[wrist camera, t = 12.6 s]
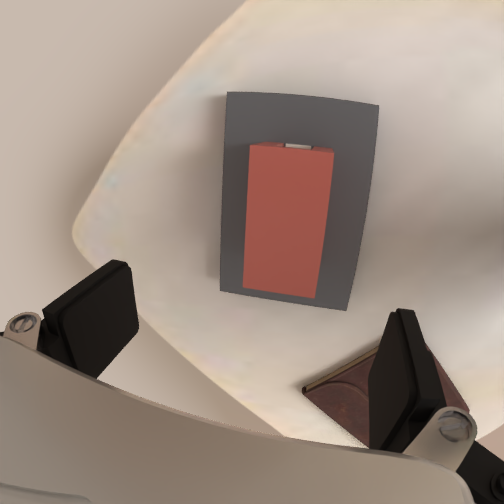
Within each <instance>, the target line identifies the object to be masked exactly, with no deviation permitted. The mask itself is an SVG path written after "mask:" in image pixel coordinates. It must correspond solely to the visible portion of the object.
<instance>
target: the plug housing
mask: <svg viewBox="0 0 504 504" xmlns="http://www.w3.org/2000/svg"><path fill="white" fill-rule="evenodd" d="M333 160H334V152H333V149H332V148H325V147H316V146H314V148H313V149H312V150H311V149H302V148H292V147H284V143H277V142H262V143H257V144H253V145H250V155H249V173H248V192H247V211H246V231H245V251H244V271H243V287H244V288H250V289H256V290H262V291H268V292H275V293H281V294H288V295H294V296H301V297H308V298H315V293H316V287H317V281H318V275H319V268H320V262H321V255H322V249H323V242H324V235H325V228H326V220H327V212H328V205H329V196H330V188H331V179H332V170H333Z"/></svg>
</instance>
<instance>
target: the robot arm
mask: <svg viewBox="0 0 504 504" xmlns="http://www.w3.org/2000/svg"><path fill="white" fill-rule="evenodd" d="M42 311H43V315H44V319H43V320H42V321H41V318H40V316H39V315H38V314H36V313H33V312H25V313H20V314H18V315H16V316H14V317H13V318H11V319H10V320H9V321H8V323H7V325H6V328H5V331H4V332H0V504H504V461H502V460H501V459H500V458H498V457H497V456H496V455H494V454H493V453H491V452H490V451H489V450H487V449H486V448H485V447H483V446H482V445H480V444H479V443H478V442H476V441H475V438H476V435H477V425H476V423H475V420H474V419H473V418H472V416H471V415H470V414H469V413H467V412H466V411H465V410H463V409H461V408H457V407H447V404H446V400H445V396H444V392H443V389H442V385H441V381H440V378H439V374H438V371H437V368H436V364H435V361H434V358H433V355H432V353H431V352H430V351H428V350H427V348H426V344H425V341H424V338H423V335H422V332H421V329H420V326H419V323H418V320H417V317H416V315H415V312H414V310H407V309H400V308H398V309H397V310H396V312H391V313H390V315H389V318H388V321H387V324H386V327H385V330H384V333H383V336H382V339H381V342H380V345H379V347H378V350H377V353H376V356H375V358H374V361H373V364H372V366H371V369H370V372H369V375H368V398H369V449H366V448H359V447H350V446H341V445H333V444H326V443H319V442H313V441H306V440H301V439H295V438H289V437H283V436H278V435H272V434H268V433H262V432H258V431H253V430H249V429H245V428H241V427H237V426H232V425H229V424H225V423H221V422H217V421H213V420H209V419H206V418H203V417H199V416H196V415H192V414H189V413H186V412H183V411H179V410H176V409H174V408H170V407H167V406H165V405H162V404H158V403H156V402H153V401H150V400H147V399H145V398H142V397H139V396H136V395H134V394H131V393H129V392H126V391H124V390H121V389H119V388H116V387H114V386H111V385H109V384H107V383H104V382H102V381H100V380H97V377H98V376H99V375H100V374H101V373H102V372H103V371H104V370H105V368H106V367H107V366H108V365H109V364H110V363H111V362H112V360H113V359H114V358H115V357H116V356H117V355H118V353H120V351H121V350H122V349H123V348H124V347H125V346H126V345H127V344H128V343H129V341H130V340H131V339H132V338H133V337H134V336H135V335H136V333H137V332H138V329H139V322H138V315H137V309H136V302H135V295H134V287H133V279H132V271H131V268H130V267H129V266H128V264H127V263H126V262H123V261H118V260H111V261H109V262H108V263H106V264H105V265H103V266H102V267H100V268H99V269H98V270H96V271H95V272H93V273H92V274H90V275H89V276H88V277H86V278H85V279H84V280H82V281H80V282H79V283H78V284H76V285H75V286H73V287H72V288H71V289H69V290H68V291H67V292H65V293H64V294H62V295H61V296H60V297H59V298H57V299H56V300H54V301H53V302H52V303H50V304H49V305H48V306H46V307H45V308H44V309H42Z"/></svg>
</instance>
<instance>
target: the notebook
mask: <svg viewBox="0 0 504 504" xmlns="http://www.w3.org/2000/svg"><path fill="white" fill-rule="evenodd" d="M425 344H426V343H425ZM378 347H379V346H378ZM378 347H376V348H374V349H373V350H371V351H369V352H368V353H366V354H364V355H363V356H361V357H359V358H358V359H356V360H354V361H352V362H351V363H349V364H347V365H345V366H343V367H342V368H340V369H338V370H336V371H334V372H332V373H331V374H329V375H327V376H325V377H323V378H321V379H319V380H317V381H315V382H313V383H311V384H309V385H308V386H307V388H306V387H305V386H304V387H303V388H302V393H303V395H304V396H306V397H307V398H308V399H309V400H310V401H312V402H313V403H314V404H315V405H316V406H317V407H319V408H320V409H321V410H322V411H323V412H325V413H326V414H327V415H328V416H330V417H331V418H332V419H333V420H334V421H336V422H337V423H338V424H339V425H341V426H342V427H343V428H344V429H346V430H347V431H348V432H349V433H351V434H352V435H353V436H354V437H356V438H357V439H358V440H359V441H361V442H362V443H363V444H365V445H366V446H367V447H369V398H368V375H369V372H370V369H371V366H372V364H373V361H374V358H375V356H376V353H377V350H378ZM426 348H427V350H428V351H430V352H431V350H430V349H429V348H428V346H427V345H426ZM431 353H432V352H431ZM432 355H433V353H432ZM433 358H434V361H435V364H436V368H437V371H438V374H439V378H440V381H441V385H442V389H443V392H444V396H445V400H446V404H447V407H457V408H461V409H463V410H465V411H466V412H467V413H469V408H468V406H467V405H466V403H465V401H464V400H463V398H462V397H461V395H460V394H459V392H458V390H457V389H456V387H455V386H454V384H453V383H452V381H451V380H450V378H449V377H448V375H447V374H446V372H445V371H444V369H443V368H442V366H441V365H440V363H439V362H438V360H437V359H436V358H435V356H434V355H433Z"/></svg>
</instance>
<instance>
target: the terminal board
mask: <svg viewBox="0 0 504 504" xmlns="http://www.w3.org/2000/svg"><path fill="white" fill-rule="evenodd" d="M378 114H379V105H373V104H367V103H361V102H354V101H348V100H340V99H333V98H324V97H315V96H305V95H294V94H280V93H261V92H227V102H226V120H225V139H224V161H223V186H222V216H221V256H220V291H224V292H229V293H235V294H241V295H246V296H252V297H258V298H264V299H270V300H277V301H283V302H289V303H295V304H302V305H309V306H315V307H322V308H329V309H336V310H343V311H346V310H347V306H348V302H349V297H350V293H351V289H352V284H353V280H354V275H355V270H356V265H357V261H358V256H359V251H360V245H361V240H362V235H363V229H364V223H365V218H366V212H367V205H368V199H369V192H370V185H371V178H372V171H373V163H374V154H375V146H376V136H377V126H378ZM262 142H277V143H284V147H292V148H302V149H311V150H312V149H313V148H314V146H316V147H325V148H332V149H333V152H334V160H333V170H332V179H331V188H330V196H329V205H328V212H327V220H326V228H325V235H324V242H323V249H322V255H321V262H320V268H319V275H318V281H317V287H316V293H315V298H308V297H301V296H294V295H288V294H281V293H275V292H268V291H262V290H256V289H250V288H244V287H243V271H244V251H245V231H246V211H247V192H248V173H249V155H250V145H253V144H257V143H262Z"/></svg>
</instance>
